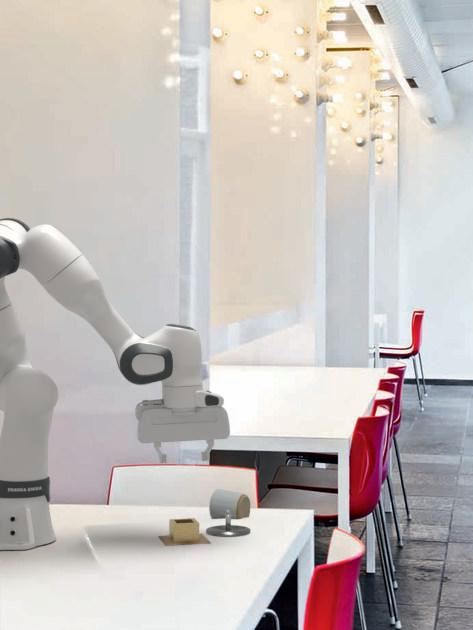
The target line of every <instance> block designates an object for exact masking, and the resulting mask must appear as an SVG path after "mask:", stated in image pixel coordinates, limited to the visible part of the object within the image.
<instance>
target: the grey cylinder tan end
mask: <svg viewBox="0 0 473 630" xmlns="http://www.w3.org/2000/svg"><path fill="white" fill-rule="evenodd" d="M208 508H209V509H208V510H209V511H208V512H209V516H210V518H211V519H212V520H220V519H221V520H222V519H225V514H226V511H227V510H229V511H230V514H231V520H232V519H235V520H240V519H243V518H250V514H251V500H250V498H249V496H248V495H247V494H245V493H242V492H239V491H232V490H228V489H224V488H223V489H222V488H217V489H215V490H214V491H213V492H212V495H211V496H210V500H209V507H208ZM225 520H226V519H225Z"/></svg>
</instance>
